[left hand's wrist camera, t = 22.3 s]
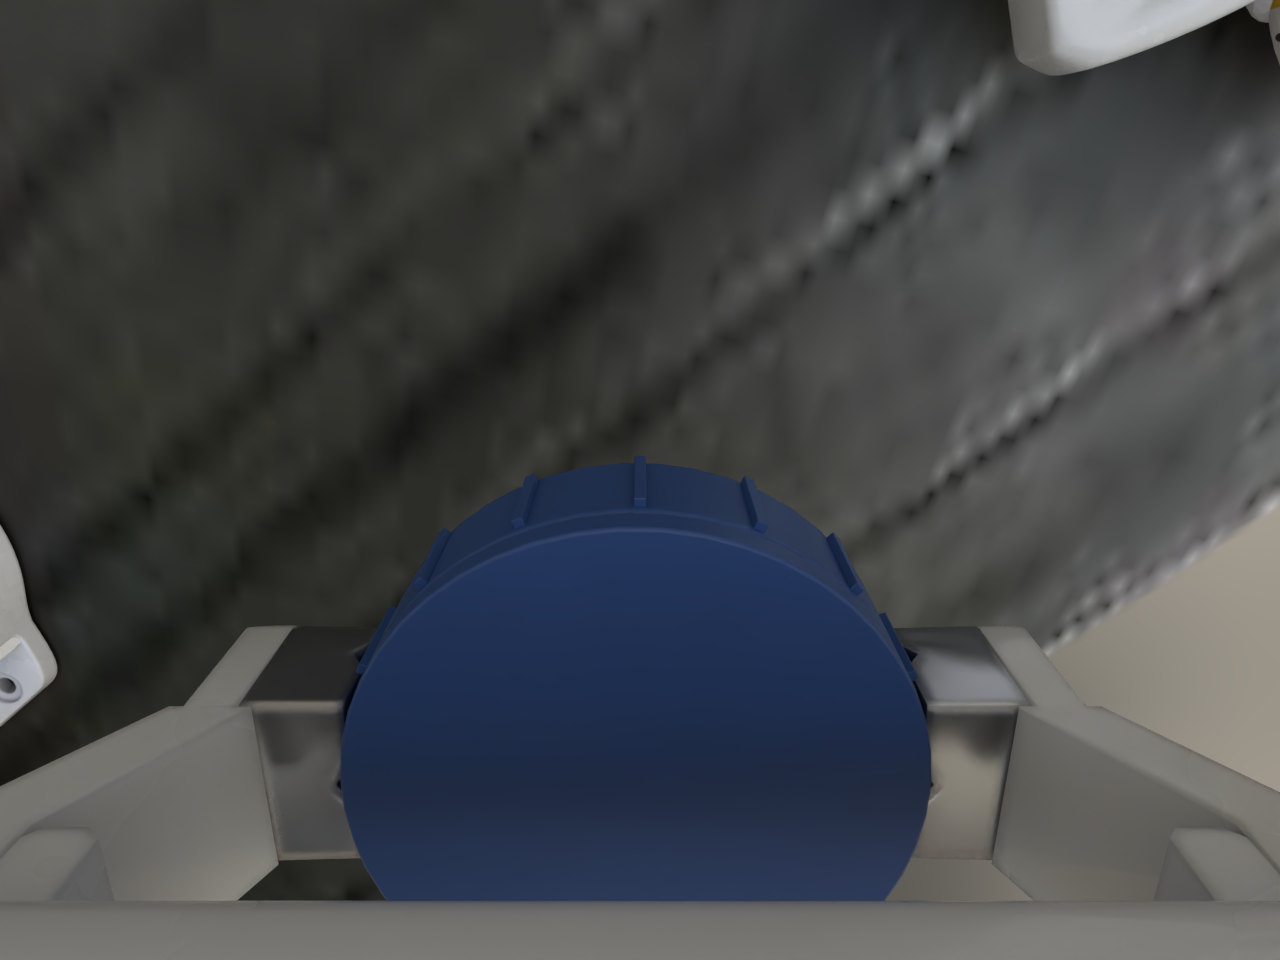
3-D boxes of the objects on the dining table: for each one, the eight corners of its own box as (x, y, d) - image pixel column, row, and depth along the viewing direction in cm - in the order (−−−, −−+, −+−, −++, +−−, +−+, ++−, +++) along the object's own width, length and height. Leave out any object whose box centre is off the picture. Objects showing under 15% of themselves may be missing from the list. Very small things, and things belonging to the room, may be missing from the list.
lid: (293, 750, 10) (231, 859, 9) (560, 348, 9) (543, 396, 7) (693, 960, 11) (702, 1091, 10) (997, 639, 10) (1064, 733, 8)
